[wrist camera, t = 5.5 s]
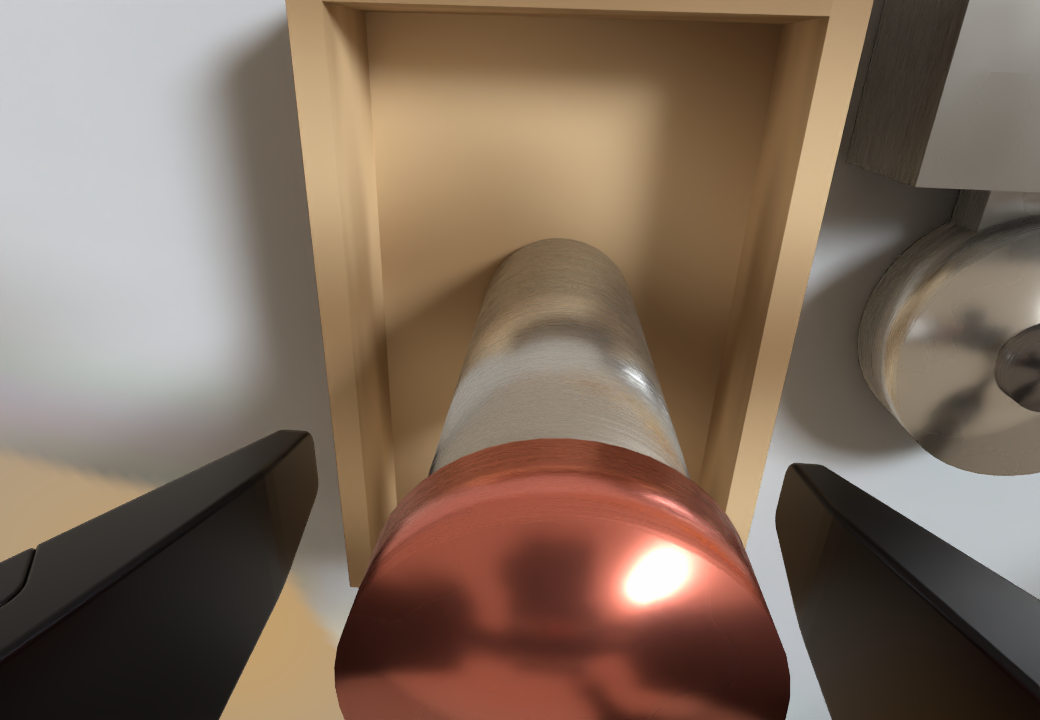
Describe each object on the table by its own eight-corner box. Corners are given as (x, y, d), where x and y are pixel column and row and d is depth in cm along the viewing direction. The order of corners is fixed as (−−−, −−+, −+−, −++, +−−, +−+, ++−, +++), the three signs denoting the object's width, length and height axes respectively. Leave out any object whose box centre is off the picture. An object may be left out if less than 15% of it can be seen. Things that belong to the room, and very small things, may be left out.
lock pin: (634, 392, 15) (744, 851, 6) (471, 383, 16) (353, 821, 7) (654, 228, 14) (840, 538, 5) (471, 220, 14) (311, 507, 5)
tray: (705, 532, 18) (729, 616, 15) (382, 509, 18) (350, 586, 16) (812, -9, 12) (880, -28, 10) (341, -22, 13) (280, -44, 10)
